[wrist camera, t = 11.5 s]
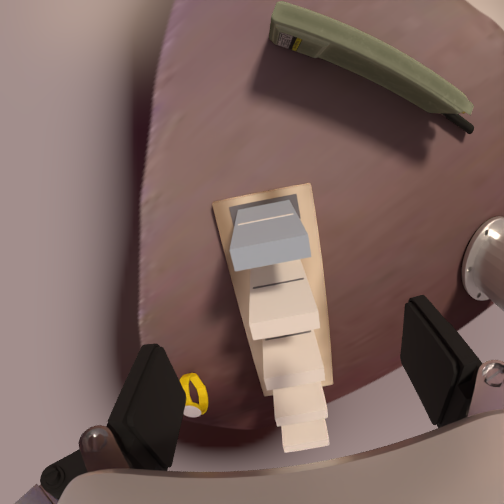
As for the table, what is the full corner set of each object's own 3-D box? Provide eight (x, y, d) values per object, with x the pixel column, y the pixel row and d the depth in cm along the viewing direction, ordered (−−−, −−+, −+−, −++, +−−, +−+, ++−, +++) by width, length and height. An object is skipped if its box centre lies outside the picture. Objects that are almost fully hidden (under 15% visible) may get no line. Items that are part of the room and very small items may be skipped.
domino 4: (270, 349, 37) (274, 417, 26) (311, 342, 36) (327, 408, 26) (272, 359, 37) (277, 426, 27) (312, 351, 37) (327, 418, 27)
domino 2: (250, 263, 32) (248, 323, 22) (298, 254, 32) (318, 310, 22) (253, 277, 33) (253, 340, 23) (300, 268, 33) (320, 328, 22)
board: (309, 182, 30) (311, 184, 29) (331, 380, 40) (333, 384, 39) (213, 202, 31) (211, 203, 30) (264, 392, 41) (264, 396, 40)
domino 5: (277, 381, 39) (282, 446, 29) (315, 374, 38) (328, 438, 28) (279, 388, 39) (284, 452, 29) (316, 382, 39) (329, 445, 29)
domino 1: (292, 215, 30) (311, 257, 20) (241, 225, 31) (235, 272, 20) (289, 199, 30) (307, 233, 19) (237, 209, 30) (229, 248, 20)
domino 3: (261, 310, 34) (263, 378, 24) (305, 302, 34) (324, 367, 24) (264, 322, 35) (267, 391, 25) (307, 314, 35) (325, 380, 24)
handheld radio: (275, 19, 24) (468, 117, 26) (265, 44, 25) (461, 140, 28) (280, -6, 18) (503, 120, 20) (267, 24, 19) (496, 147, 22)
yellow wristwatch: (214, 390, 41) (211, 422, 36) (197, 393, 41) (193, 425, 36) (195, 364, 39) (189, 398, 33) (177, 368, 39) (170, 401, 34)
